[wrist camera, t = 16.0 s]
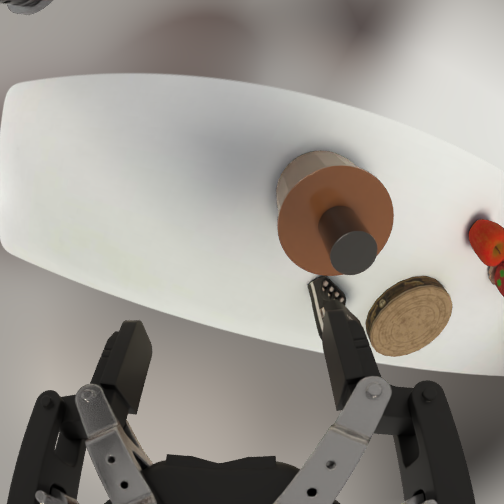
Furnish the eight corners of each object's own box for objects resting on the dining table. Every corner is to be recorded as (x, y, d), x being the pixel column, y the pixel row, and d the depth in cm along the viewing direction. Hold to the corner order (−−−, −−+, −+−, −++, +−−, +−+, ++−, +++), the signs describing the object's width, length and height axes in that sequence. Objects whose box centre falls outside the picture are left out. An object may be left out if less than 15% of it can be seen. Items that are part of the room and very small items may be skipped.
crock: (274, 151, 34) (280, 170, 27) (363, 150, 34) (392, 168, 26) (277, 235, 40) (283, 272, 32) (358, 231, 39) (380, 265, 32)
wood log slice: (459, 292, 45) (466, 303, 42) (406, 351, 52) (411, 362, 50) (405, 262, 42) (413, 273, 39) (347, 333, 49) (351, 346, 46)
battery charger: (351, 295, 45) (373, 349, 35) (332, 308, 46) (348, 364, 36) (326, 268, 42) (345, 323, 32) (305, 283, 44) (318, 341, 34)
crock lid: (274, 164, 27) (280, 186, 21) (394, 163, 27) (427, 184, 21) (278, 273, 33) (283, 314, 27) (381, 265, 33) (403, 302, 27)
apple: (469, 208, 37) (497, 230, 30) (492, 214, 37) (519, 235, 31) (456, 244, 40) (481, 270, 34) (480, 247, 40) (504, 271, 34)
